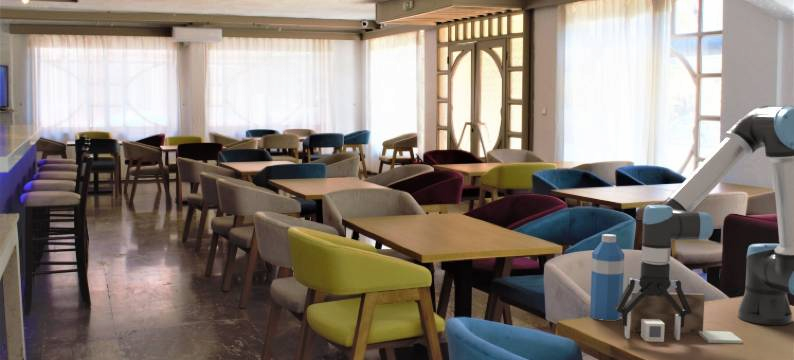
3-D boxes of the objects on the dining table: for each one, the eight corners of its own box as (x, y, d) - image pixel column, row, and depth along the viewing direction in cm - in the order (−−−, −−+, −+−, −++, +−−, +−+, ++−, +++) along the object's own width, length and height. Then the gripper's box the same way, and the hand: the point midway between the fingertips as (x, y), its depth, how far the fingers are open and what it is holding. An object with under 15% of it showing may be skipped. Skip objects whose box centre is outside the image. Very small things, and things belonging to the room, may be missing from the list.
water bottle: (622, 322, 258) (626, 238, 256) (590, 319, 260) (593, 236, 258) (621, 314, 267) (624, 233, 265) (589, 312, 269) (592, 232, 267)
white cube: (658, 336, 243) (659, 319, 243) (664, 342, 238) (664, 324, 237) (640, 336, 243) (641, 318, 243) (645, 341, 238) (646, 323, 238)
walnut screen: (699, 330, 250) (701, 292, 249) (704, 334, 246) (706, 295, 245) (629, 328, 251) (630, 291, 250) (632, 332, 247) (634, 294, 246)
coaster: (730, 334, 246) (730, 331, 246) (741, 343, 237) (742, 340, 237) (698, 333, 247) (698, 330, 247) (708, 342, 238) (708, 339, 238)
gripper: (697, 260, 242) (693, 335, 244) (606, 258, 243) (603, 333, 245) (706, 265, 234) (702, 343, 236) (612, 263, 235) (609, 340, 237)
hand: (651, 338), depth 241 cm, fingers open, 13 cm apart
